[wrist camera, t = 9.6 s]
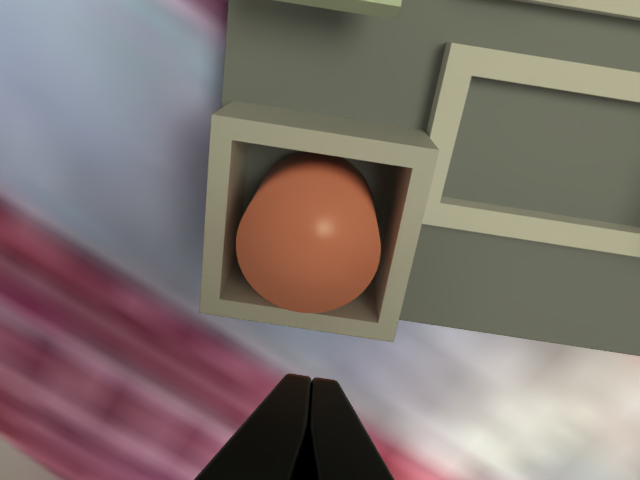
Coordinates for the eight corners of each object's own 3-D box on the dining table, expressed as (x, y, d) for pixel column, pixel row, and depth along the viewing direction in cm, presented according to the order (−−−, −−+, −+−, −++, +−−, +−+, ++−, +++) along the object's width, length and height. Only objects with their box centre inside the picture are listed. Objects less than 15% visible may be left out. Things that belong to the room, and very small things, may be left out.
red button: (362, 270, 18) (366, 322, 15) (251, 253, 18) (230, 302, 15) (384, 160, 16) (394, 192, 13) (262, 141, 16) (242, 168, 13)
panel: (716, 343, 21) (821, 430, 16) (220, 268, 21) (185, 334, 16) (1002, -189, 14) (1318, -295, 10) (266, -313, 14) (226, -484, 9)
